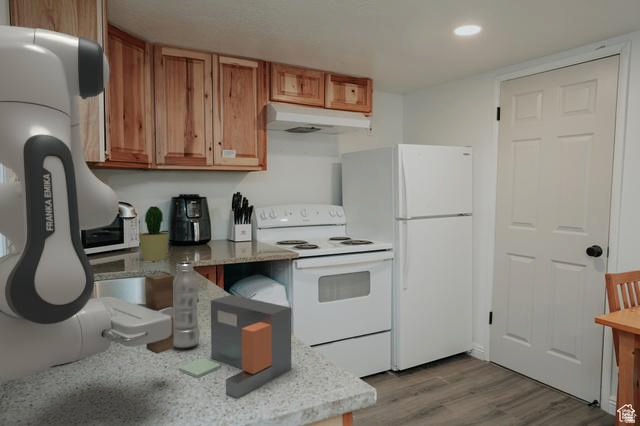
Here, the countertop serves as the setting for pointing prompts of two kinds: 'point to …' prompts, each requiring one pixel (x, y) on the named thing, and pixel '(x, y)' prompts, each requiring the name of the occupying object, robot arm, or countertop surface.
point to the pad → (199, 367)
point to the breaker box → (227, 339)
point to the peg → (160, 305)
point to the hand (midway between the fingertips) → (163, 308)
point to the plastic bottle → (185, 306)
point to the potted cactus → (154, 237)
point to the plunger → (256, 347)
